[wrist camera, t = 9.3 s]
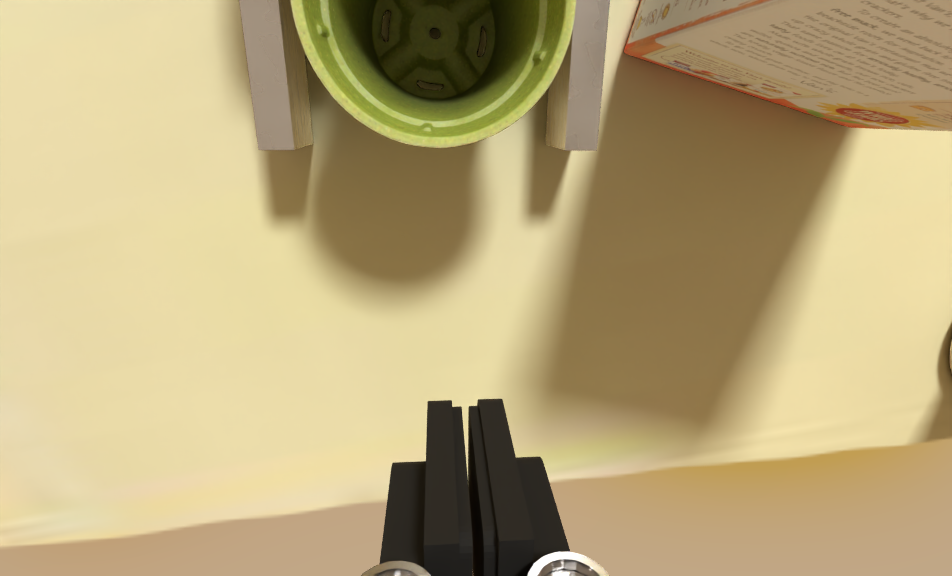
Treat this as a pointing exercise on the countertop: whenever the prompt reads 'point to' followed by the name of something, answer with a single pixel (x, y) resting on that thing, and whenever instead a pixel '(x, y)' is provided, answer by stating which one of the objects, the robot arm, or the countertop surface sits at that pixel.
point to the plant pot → (435, 62)
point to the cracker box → (813, 54)
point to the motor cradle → (287, 97)
